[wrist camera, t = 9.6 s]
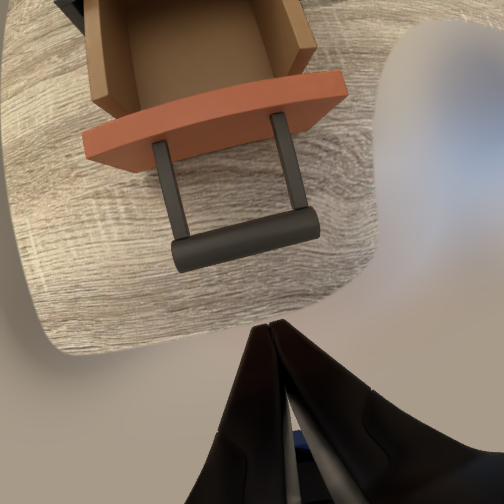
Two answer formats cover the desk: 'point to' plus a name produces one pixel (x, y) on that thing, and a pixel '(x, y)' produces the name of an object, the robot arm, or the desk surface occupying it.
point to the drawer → (206, 102)
